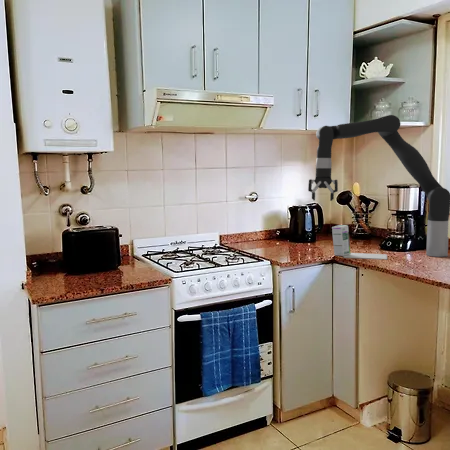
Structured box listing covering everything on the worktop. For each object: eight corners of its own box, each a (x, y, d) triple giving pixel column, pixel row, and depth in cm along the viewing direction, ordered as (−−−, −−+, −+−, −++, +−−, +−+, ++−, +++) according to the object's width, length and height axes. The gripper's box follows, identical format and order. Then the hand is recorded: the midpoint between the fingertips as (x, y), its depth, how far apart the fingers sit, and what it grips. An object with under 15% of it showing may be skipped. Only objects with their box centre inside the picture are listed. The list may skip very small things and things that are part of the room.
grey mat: (386, 255, 232) (386, 254, 232) (387, 259, 221) (387, 258, 221) (345, 253, 238) (345, 252, 238) (343, 257, 227) (343, 256, 227)
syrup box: (343, 256, 229) (341, 226, 228) (333, 255, 233) (331, 226, 232) (350, 254, 232) (348, 224, 231) (340, 253, 237) (338, 224, 236)
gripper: (339, 167, 232) (338, 200, 234) (310, 167, 237) (309, 199, 239) (337, 167, 225) (336, 201, 227) (307, 167, 230) (306, 200, 232)
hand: (322, 200), depth 233 cm, fingers open, 8 cm apart
